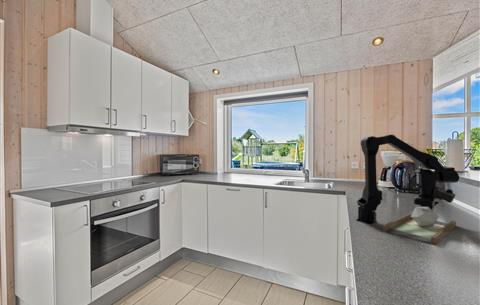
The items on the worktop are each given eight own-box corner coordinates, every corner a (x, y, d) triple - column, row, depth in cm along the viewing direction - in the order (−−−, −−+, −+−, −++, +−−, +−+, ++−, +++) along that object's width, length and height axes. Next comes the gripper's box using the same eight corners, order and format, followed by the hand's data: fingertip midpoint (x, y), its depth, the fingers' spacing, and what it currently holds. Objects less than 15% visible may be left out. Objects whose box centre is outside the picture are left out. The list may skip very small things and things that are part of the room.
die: (438, 232, 88) (446, 211, 90) (416, 221, 90) (424, 201, 92) (424, 230, 96) (431, 211, 97) (404, 220, 98) (411, 202, 99)
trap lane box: (383, 231, 88) (383, 225, 88) (411, 216, 108) (411, 212, 108) (434, 245, 75) (434, 238, 75) (455, 225, 95) (455, 220, 95)
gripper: (448, 188, 85) (449, 227, 85) (457, 182, 96) (458, 217, 96) (412, 185, 93) (414, 221, 94) (425, 180, 105) (426, 212, 105)
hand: (429, 217), depth 97 cm, fingers closed
